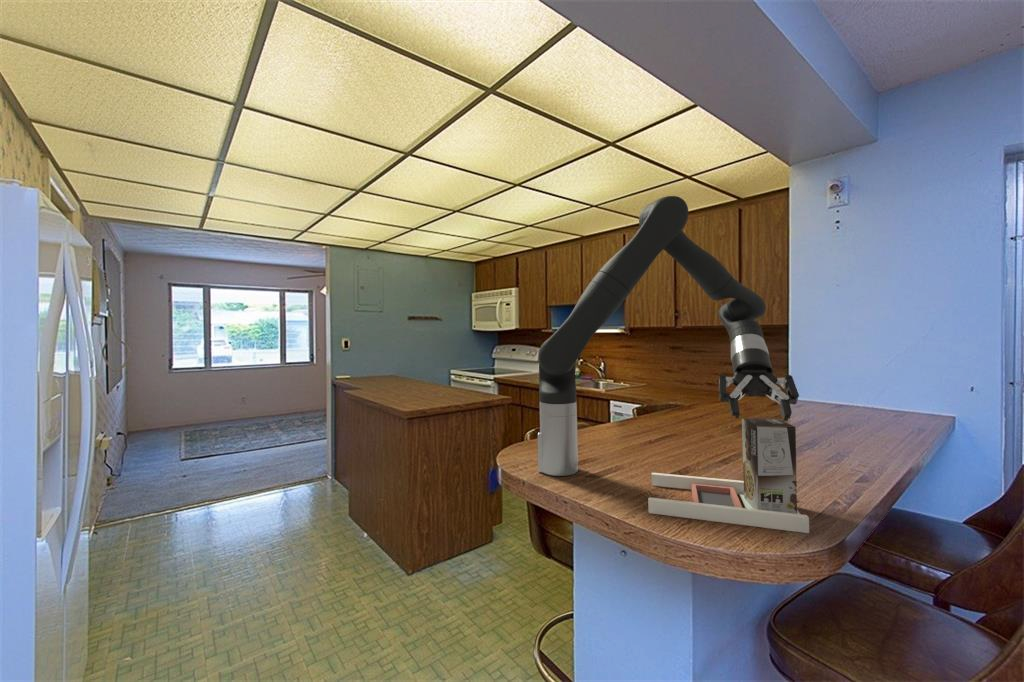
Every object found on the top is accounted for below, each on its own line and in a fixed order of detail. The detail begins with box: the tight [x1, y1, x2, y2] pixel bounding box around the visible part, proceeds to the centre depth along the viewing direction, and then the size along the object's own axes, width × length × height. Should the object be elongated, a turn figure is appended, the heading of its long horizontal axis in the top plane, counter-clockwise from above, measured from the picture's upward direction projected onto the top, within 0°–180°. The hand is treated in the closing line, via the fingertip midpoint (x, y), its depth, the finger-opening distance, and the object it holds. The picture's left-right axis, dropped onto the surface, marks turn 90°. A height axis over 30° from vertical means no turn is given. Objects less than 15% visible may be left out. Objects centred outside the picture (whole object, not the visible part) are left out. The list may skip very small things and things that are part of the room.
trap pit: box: [691, 483, 743, 508], centre depth 79 cm, size 8×13×2 cm, turn 159°
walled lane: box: [647, 472, 810, 534], centre depth 79 cm, size 25×16×2 cm, turn 69°
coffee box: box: [741, 417, 798, 514], centre depth 76 cm, size 9×6×16 cm
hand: (761, 417), depth 82 cm, fingers open, 8 cm apart
